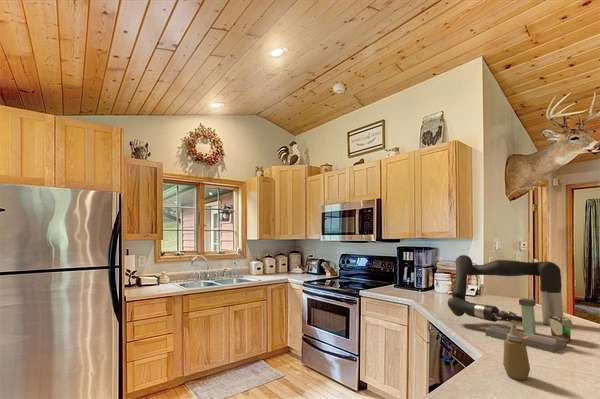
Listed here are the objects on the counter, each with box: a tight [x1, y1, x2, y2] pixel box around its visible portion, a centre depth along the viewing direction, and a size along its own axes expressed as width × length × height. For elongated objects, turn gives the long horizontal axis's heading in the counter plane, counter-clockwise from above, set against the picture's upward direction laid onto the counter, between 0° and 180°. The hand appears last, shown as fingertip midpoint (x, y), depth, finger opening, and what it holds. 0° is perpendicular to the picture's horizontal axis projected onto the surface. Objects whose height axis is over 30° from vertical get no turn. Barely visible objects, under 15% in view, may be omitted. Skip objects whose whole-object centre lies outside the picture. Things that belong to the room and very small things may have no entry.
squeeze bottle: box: [502, 323, 531, 381], centre depth 119 cm, size 8×8×18 cm
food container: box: [549, 315, 573, 344], centre depth 156 cm, size 12×6×10 cm, turn 168°
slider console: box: [485, 323, 568, 354], centre depth 156 cm, size 14×28×4 cm, turn 33°
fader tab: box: [518, 297, 537, 335], centre depth 155 cm, size 4×5×16 cm
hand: (523, 319), depth 156 cm, fingers closed
